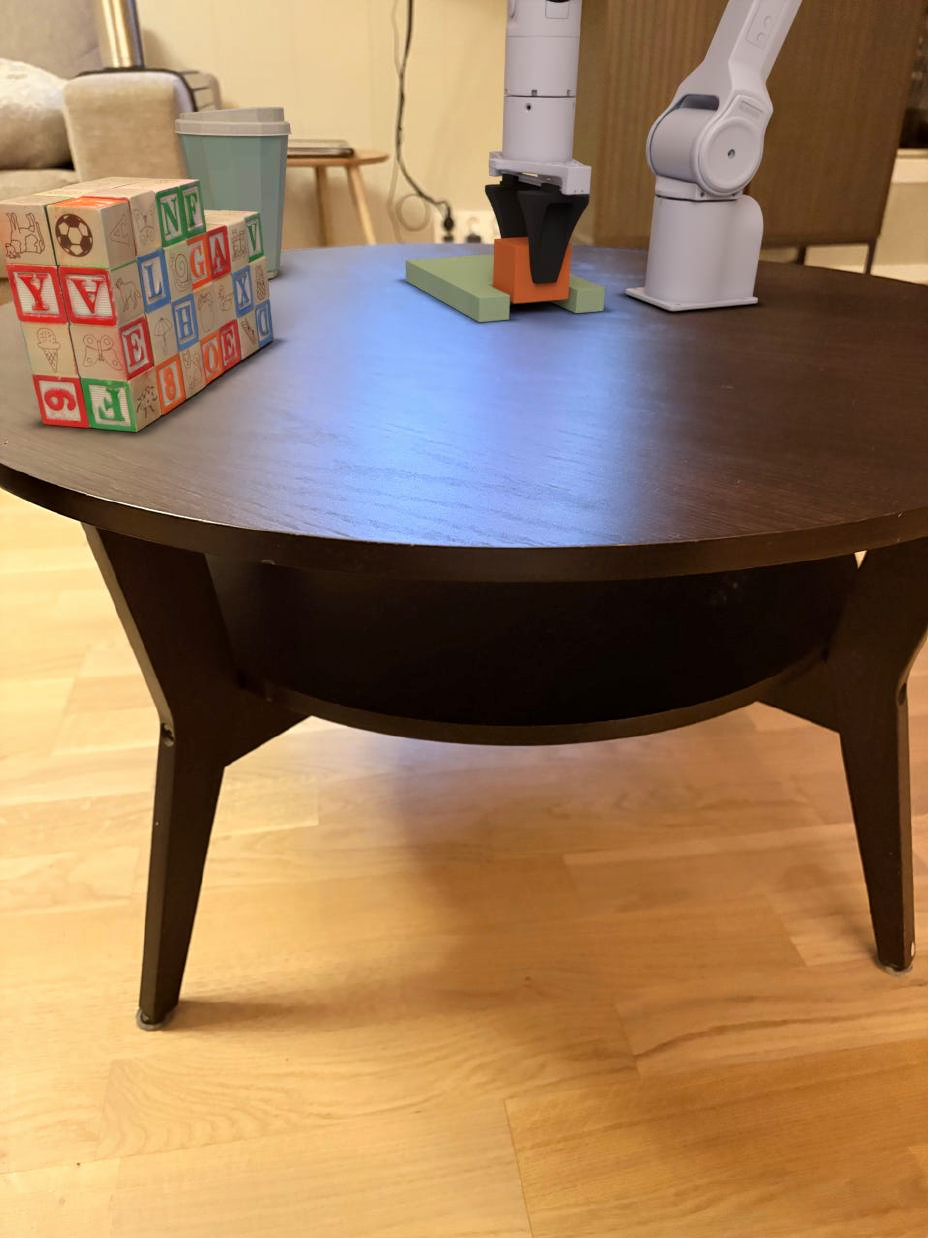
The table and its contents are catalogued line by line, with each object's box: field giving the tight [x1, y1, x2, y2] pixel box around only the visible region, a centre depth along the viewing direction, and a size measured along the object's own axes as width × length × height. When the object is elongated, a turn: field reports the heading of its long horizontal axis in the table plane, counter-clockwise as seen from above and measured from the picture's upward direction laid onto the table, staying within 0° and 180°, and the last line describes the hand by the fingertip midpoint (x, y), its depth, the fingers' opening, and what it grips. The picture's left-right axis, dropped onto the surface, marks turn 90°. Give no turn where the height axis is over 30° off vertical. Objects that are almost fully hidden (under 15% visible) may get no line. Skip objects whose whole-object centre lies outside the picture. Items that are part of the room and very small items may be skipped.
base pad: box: [405, 253, 606, 323], centre depth 86 cm, size 12×18×2 cm, turn 23°
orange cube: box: [493, 237, 573, 305], centre depth 80 cm, size 5×4×4 cm
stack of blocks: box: [0, 176, 274, 433], centre depth 60 cm, size 21×6×12 cm, turn 168°
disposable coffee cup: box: [174, 106, 292, 280], centre depth 90 cm, size 11×11×15 cm
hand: (531, 276), depth 80 cm, fingers closed on orange cube, 4 cm apart
